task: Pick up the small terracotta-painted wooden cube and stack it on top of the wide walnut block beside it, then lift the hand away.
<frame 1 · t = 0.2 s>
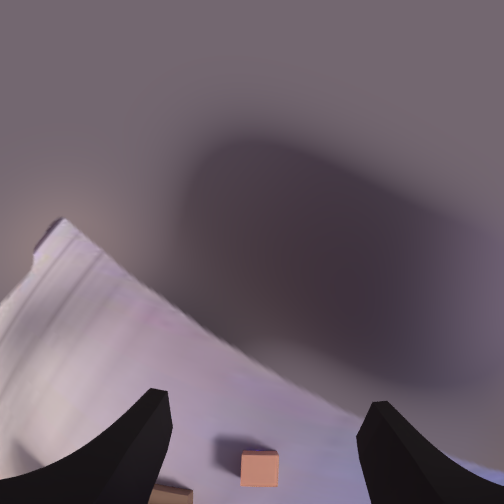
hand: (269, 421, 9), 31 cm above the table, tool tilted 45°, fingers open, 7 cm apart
terracotta cube: (259, 465, 31), on the table
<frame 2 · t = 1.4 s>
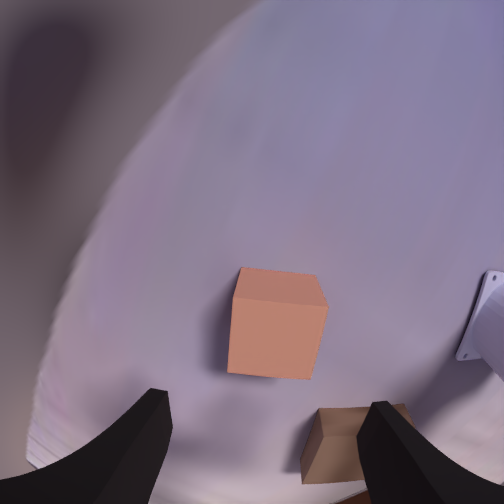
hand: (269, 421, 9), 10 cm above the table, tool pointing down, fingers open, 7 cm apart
food container: (356, 500, 26), on the table
walnut block: (350, 433, 22), on the table
terracotta cube: (273, 304, 18), on the table
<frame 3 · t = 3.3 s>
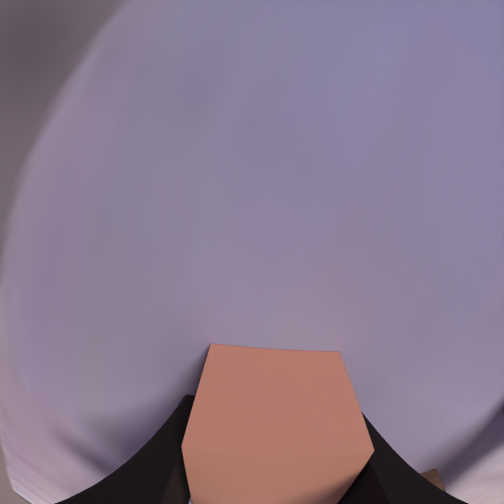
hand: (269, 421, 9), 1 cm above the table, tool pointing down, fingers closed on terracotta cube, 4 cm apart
terracotta cube: (269, 395, 10), on the table, touching gripper
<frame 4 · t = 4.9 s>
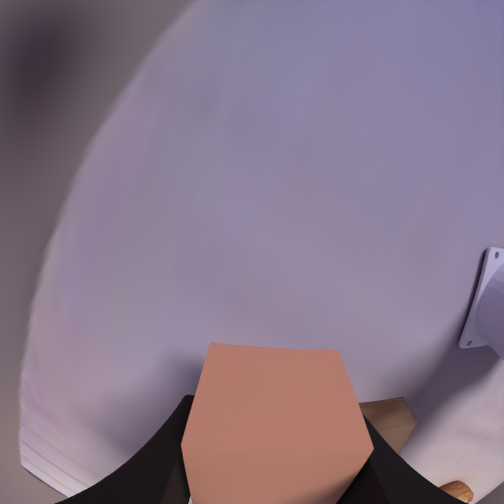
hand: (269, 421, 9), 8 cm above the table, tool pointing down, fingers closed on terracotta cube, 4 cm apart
pastry: (434, 495, 26), on the table
walnut block: (346, 431, 20), on the table
terracotta cube: (268, 394, 10), point 7 cm above the table, touching gripper
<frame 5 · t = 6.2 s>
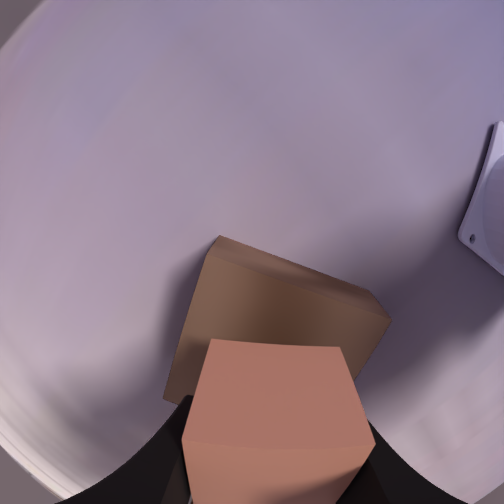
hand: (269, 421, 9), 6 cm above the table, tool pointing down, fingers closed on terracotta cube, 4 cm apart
walnut block: (268, 329, 15), on the table
terracotta cube: (269, 391, 10), point 5 cm above the table, touching gripper
when the fingers open (6 cm above the table, at t = 7.0 s): terracotta cube drops 2 cm, point 3 cm above the table.
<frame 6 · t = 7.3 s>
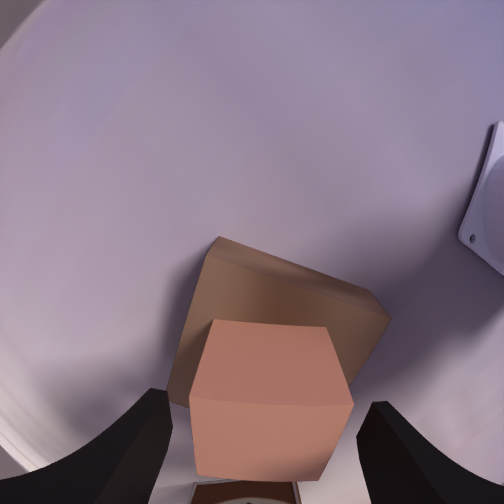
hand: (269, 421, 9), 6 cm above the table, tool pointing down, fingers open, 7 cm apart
food container: (254, 489, 20), on the table
walnut block: (268, 329, 15), on the table
terracotta cube: (265, 368, 12), point 3 cm above the table
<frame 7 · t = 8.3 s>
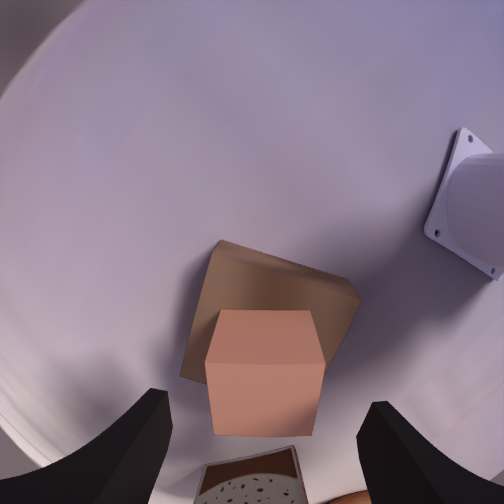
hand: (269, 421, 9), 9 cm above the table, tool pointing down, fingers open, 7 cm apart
food container: (260, 468, 23), on the table
pastry: (353, 502, 26), on the table
walnut block: (264, 315, 18), on the table
terracotta cube: (264, 347, 15), point 3 cm above the table
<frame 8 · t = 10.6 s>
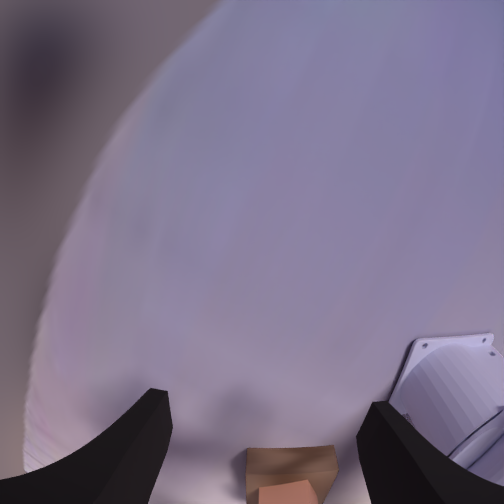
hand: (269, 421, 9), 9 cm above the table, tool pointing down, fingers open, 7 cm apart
walnut block: (287, 465, 23), on the table
terracotta cube: (289, 492, 20), point 3 cm above the table
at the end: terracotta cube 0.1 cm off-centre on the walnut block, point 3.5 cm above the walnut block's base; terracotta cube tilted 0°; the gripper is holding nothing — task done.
